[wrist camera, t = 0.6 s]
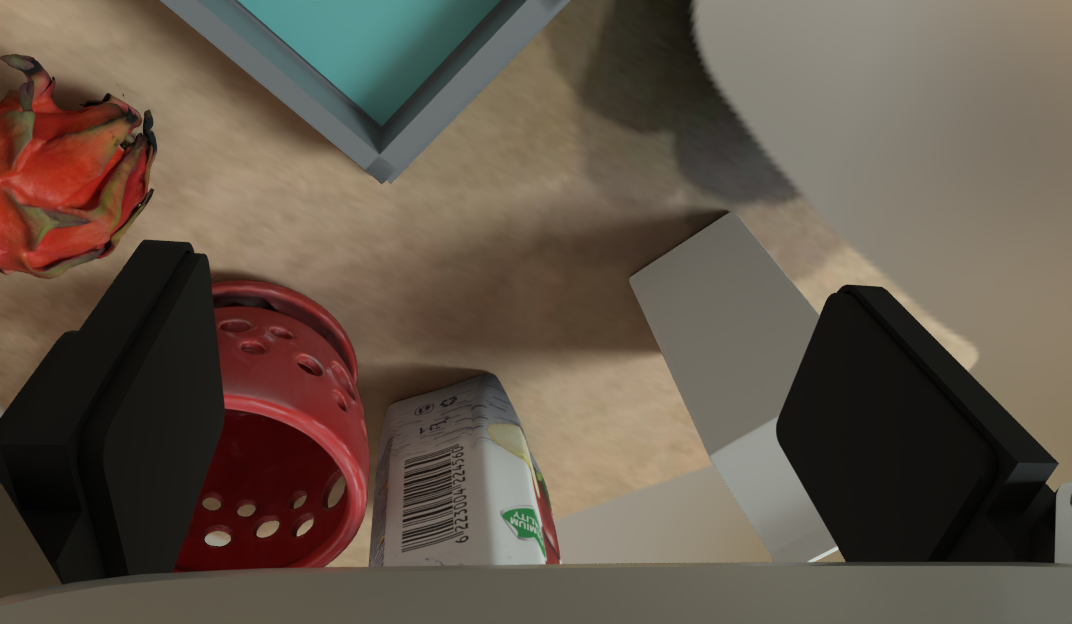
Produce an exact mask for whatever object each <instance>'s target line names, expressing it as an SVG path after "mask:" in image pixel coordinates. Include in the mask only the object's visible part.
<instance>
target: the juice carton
mask: <svg viewBox="0 0 1072 624" xmlns="http://www.w3.org/2000/svg"><path fill="white" fill-rule="evenodd" d="M524 564H562V562H561V556H560V551H559V546H558V540H557V535H556V530H555V524H554V519H553V514H552V509H551V504H550V499H549V495H548V491H547V487H546V484H545V481H544V479H543V476H542V474H541V471H540V469H539V467H538V465H537V463H536V461H535V459H534V458H533V456H532V454H531V452H530V450H529V448H528V445H527V441H526V437H525V434H524V431H523V428H522V426H521V424H520V421H519V419H518V416H517V414H516V412H515V410H514V408H513V406H512V404H511V402H510V400H509V398H508V396H507V394H506V392H505V390H504V389H503V387H502V385H501V383H500V381H499V380H498V378H497V377H496V376H495V375H494V374H485V375H481V376H478V377H474V378H471V379H468V380H465V381H463V382H460V383H457V384H454V385H451V386H448V387H445V388H443V389H439V390H436V391H433V392H429V393H426V394H422V395H418V396H415V397H411V398H408V399H405V400H402V401H399V402H396V403H393V404H391V405H390V406H389V407H388V408H387V410H386V414H385V418H384V423H383V429H382V434H381V440H380V446H379V453H378V460H377V469H376V480H375V492H374V505H373V517H372V530H371V543H370V555H369V567H380V566H452V565H524Z"/></svg>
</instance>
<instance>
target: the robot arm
mask: <svg viewBox="0 0 1072 624" xmlns="http://www.w3.org/2000/svg"><path fill="white" fill-rule="evenodd" d="M224 416H225V403H224V394H223V385H222V376H221V367H220V358H219V349H218V340H217V331H216V322H215V313H214V304H213V295H212V286H211V277H210V268H209V261H208V258H207V256H206V254H200V253H194V249H193V247H192V245H191V244H190V243H189V242H174V241H159V240H143V241H142V242H141V243H140V244H139V246H138V247H137V249H136V250H135V252H134V253H133V254H132V256H131V257H130V259H129V260H128V262H127V263H126V264H125V266H124V267H123V269H122V270H121V271H120V273H119V274H118V276H117V277H116V279H115V280H114V281H113V283H112V284H111V286H110V287H109V288H108V290H107V291H106V293H105V294H104V296H103V297H102V298H101V300H100V301H99V303H98V304H97V306H96V307H95V308H94V310H93V311H92V313H91V314H90V315H89V317H88V318H87V320H86V321H85V323H84V324H83V325H82V327H81V328H80V330H79V331H69V332H65V333H64V334H63V335H62V336H61V337H60V338H59V339H58V340H57V341H56V343H55V344H54V346H53V347H52V348H51V350H50V351H49V352H48V354H47V355H46V356H45V358H44V359H43V361H42V362H41V363H40V365H39V366H38V367H37V369H36V370H35V371H34V373H33V374H32V376H31V377H30V378H29V380H28V381H27V382H26V384H25V385H24V387H23V388H22V389H21V391H20V392H19V393H18V395H17V396H16V397H15V399H14V400H13V402H12V403H11V404H10V406H9V407H8V408H7V410H6V411H5V412H4V414H3V415H2V417H1V418H0V624H1072V481H1070V482H1067V483H1065V484H1063V485H1061V486H1059V488H1058V489H1057V491H1056V492H1055V493H1054V492H1053V491H1052V490H1051V489H1050V488H1049V486H1048V485H1046V483H1045V482H1046V481H1047V480H1048V478H1049V477H1050V475H1051V474H1052V472H1053V471H1054V470H1055V468H1056V467H1057V465H1058V464H1059V463H1058V462H1057V461H1056V460H1055V459H1054V458H1053V457H1052V456H1051V455H1050V454H1049V453H1048V452H1047V451H1046V450H1045V449H1044V448H1043V447H1042V446H1041V445H1040V444H1039V443H1038V442H1037V441H1036V440H1035V439H1034V438H1033V437H1032V436H1031V435H1030V434H1029V433H1028V432H1027V431H1026V430H1025V429H1024V428H1023V427H1022V426H1021V425H1020V424H1019V423H1018V422H1017V421H1016V420H1015V419H1014V418H1013V417H1012V416H1011V415H1010V414H1009V413H1008V412H1007V411H1006V410H1005V409H1004V408H1003V407H1002V406H1001V405H1000V404H999V403H998V402H997V401H996V400H995V399H994V398H993V397H992V396H991V395H990V394H989V393H988V392H987V391H986V390H985V389H984V388H983V387H982V386H981V385H980V384H979V383H978V382H977V381H976V380H975V379H974V378H973V376H972V375H971V374H969V372H968V371H967V370H966V369H965V368H964V367H963V366H962V365H961V364H960V363H959V362H958V361H957V360H956V359H955V358H954V357H953V356H952V355H951V354H950V353H949V352H948V351H947V350H946V349H945V348H944V347H943V346H942V345H941V344H940V343H939V342H938V341H937V340H936V339H935V338H934V337H933V336H932V335H931V334H930V333H929V332H928V331H927V330H926V329H925V328H924V327H923V326H922V325H921V324H920V323H919V322H918V321H917V320H916V319H915V318H914V317H913V316H912V315H911V314H910V313H909V312H908V311H907V310H906V309H905V308H904V307H903V306H902V305H901V304H900V303H899V302H898V301H897V300H896V299H895V298H894V297H893V296H892V295H891V294H890V293H889V292H888V291H887V290H886V289H884V288H883V287H876V286H861V285H845V286H842V287H841V288H840V289H839V290H838V292H837V293H833V294H831V295H830V296H829V297H828V299H827V300H826V302H825V305H824V307H823V310H822V312H821V315H820V317H819V319H818V322H817V324H816V327H815V329H814V332H813V334H812V337H811V339H810V341H809V344H808V346H807V349H806V351H805V354H804V356H803V359H802V361H801V363H800V366H799V368H798V371H797V373H796V376H795V378H794V381H793V383H792V385H791V388H790V390H789V393H788V395H787V398H786V400H785V403H784V405H783V407H782V410H781V412H780V415H779V417H778V420H777V423H776V436H777V440H778V443H779V445H780V447H781V448H782V450H783V452H784V454H785V455H786V457H787V459H788V461H789V462H790V464H791V466H792V468H793V469H794V471H795V473H796V475H797V476H798V478H799V480H800V482H801V484H802V485H803V487H804V489H805V491H806V492H807V494H808V496H809V498H810V499H811V501H812V503H813V505H814V506H815V508H816V510H817V512H818V513H819V515H820V517H821V519H822V520H823V522H824V524H825V526H826V527H827V529H828V531H829V533H830V535H831V536H832V538H833V540H834V542H835V543H836V545H837V547H838V549H839V550H840V552H841V554H842V556H843V557H844V559H845V561H846V562H750V563H748V562H741V563H625V564H624V563H621V564H619V563H616V564H524V565H452V566H380V567H319V568H265V569H242V570H221V571H200V572H179V573H173V570H174V567H175V564H176V561H177V558H178V555H179V553H180V550H181V547H182V544H183V541H184V538H185V535H186V532H187V530H188V527H189V524H190V521H191V518H192V515H193V512H194V510H195V507H196V504H197V501H198V498H199V495H200V492H201V489H202V487H203V484H204V481H205V478H206V475H207V472H208V469H209V466H210V464H211V461H212V458H213V455H214V452H215V449H216V446H217V443H218V441H219V438H220V435H221V432H222V428H223V424H224Z"/></svg>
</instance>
